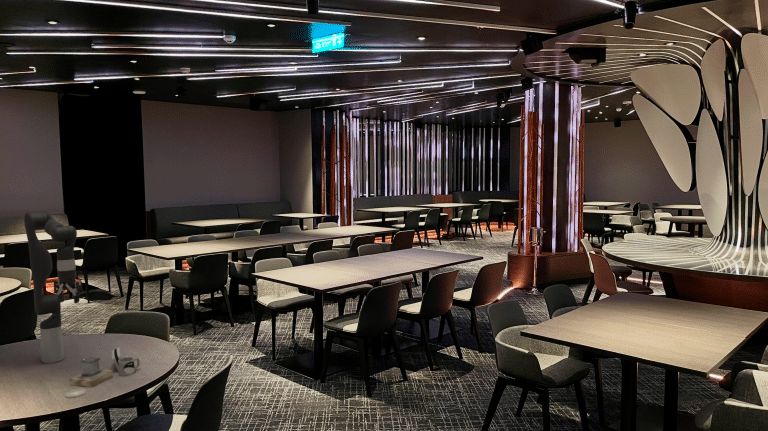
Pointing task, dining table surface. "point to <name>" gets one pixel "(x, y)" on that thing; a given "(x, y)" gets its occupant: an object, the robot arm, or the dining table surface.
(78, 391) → the white smooth dome part
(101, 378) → the wooden framed mirror
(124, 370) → the mug
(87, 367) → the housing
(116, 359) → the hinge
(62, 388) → the dining table surface
